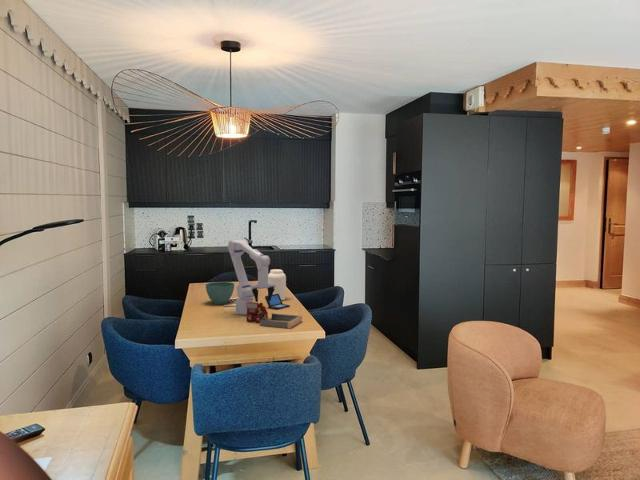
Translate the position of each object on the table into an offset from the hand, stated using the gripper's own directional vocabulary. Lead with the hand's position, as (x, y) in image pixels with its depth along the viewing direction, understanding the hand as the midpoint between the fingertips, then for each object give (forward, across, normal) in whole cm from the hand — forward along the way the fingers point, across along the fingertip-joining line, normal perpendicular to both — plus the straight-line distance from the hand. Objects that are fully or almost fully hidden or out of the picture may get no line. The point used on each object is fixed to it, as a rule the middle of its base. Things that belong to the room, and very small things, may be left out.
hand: (263, 301), depth 270 cm
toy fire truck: (+10, -6, -5) cm, 12 cm away
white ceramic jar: (+10, +27, +45) cm, 54 cm away
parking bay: (+10, +4, -15) cm, 18 cm away
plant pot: (+10, -10, +50) cm, 52 cm away
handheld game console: (+10, +18, +22) cm, 31 cm away
